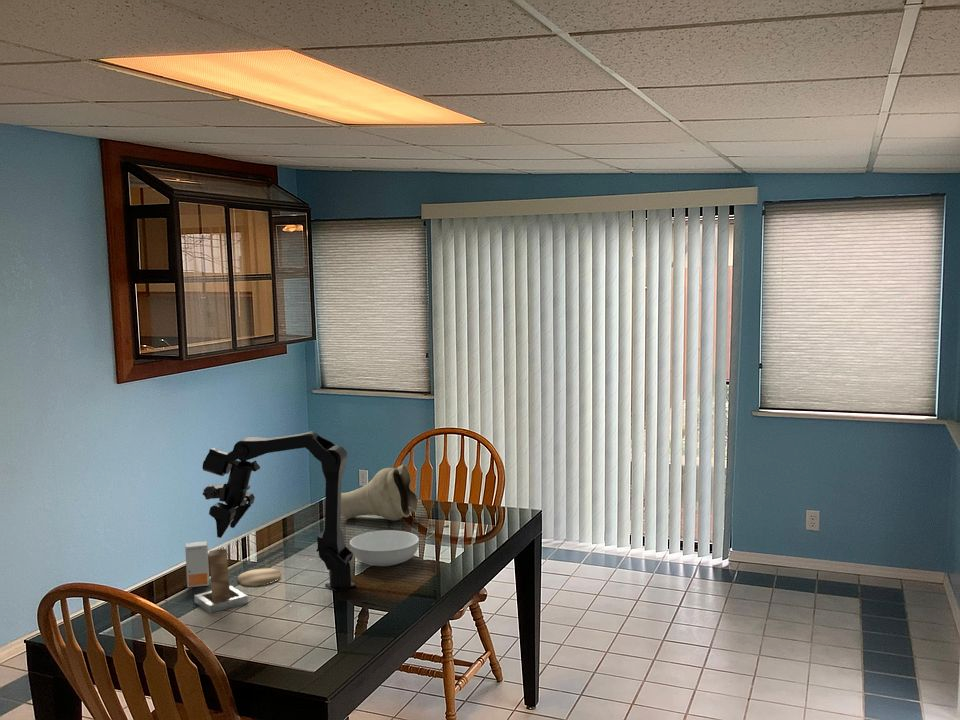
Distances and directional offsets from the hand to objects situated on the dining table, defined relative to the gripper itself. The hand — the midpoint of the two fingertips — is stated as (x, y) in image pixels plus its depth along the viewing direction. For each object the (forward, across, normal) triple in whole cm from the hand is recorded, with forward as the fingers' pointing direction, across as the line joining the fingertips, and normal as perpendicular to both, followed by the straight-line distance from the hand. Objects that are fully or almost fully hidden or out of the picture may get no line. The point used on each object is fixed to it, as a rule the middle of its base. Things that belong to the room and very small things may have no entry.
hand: (225, 532), depth 253 cm
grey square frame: (+14, +13, +8) cm, 21 cm away
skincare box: (+18, 0, -4) cm, 18 cm away
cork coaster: (+12, -5, +12) cm, 18 cm away
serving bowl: (+3, -21, +44) cm, 49 cm away
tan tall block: (+14, +13, +8) cm, 21 cm away
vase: (+7, -66, +30) cm, 73 cm away
